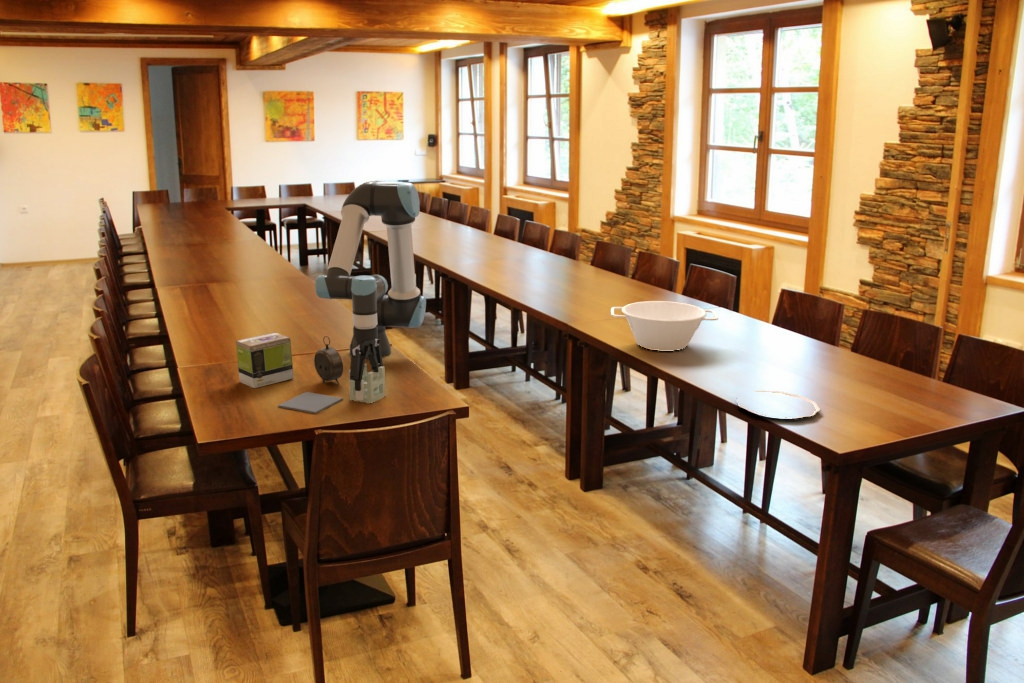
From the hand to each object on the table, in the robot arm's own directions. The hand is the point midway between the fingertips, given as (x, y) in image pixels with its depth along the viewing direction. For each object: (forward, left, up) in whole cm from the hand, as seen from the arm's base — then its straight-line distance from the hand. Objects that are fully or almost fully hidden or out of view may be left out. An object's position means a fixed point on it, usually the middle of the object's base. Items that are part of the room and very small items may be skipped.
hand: (367, 395), depth 282 cm
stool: (0, 0, -1) cm, 1 cm away
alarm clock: (-7, -20, -1) cm, 21 cm away
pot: (-101, +68, -1) cm, 122 cm away
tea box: (0, -40, -1) cm, 40 cm away
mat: (+12, -13, -1) cm, 18 cm away
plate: (-47, +119, -1) cm, 128 cm away
